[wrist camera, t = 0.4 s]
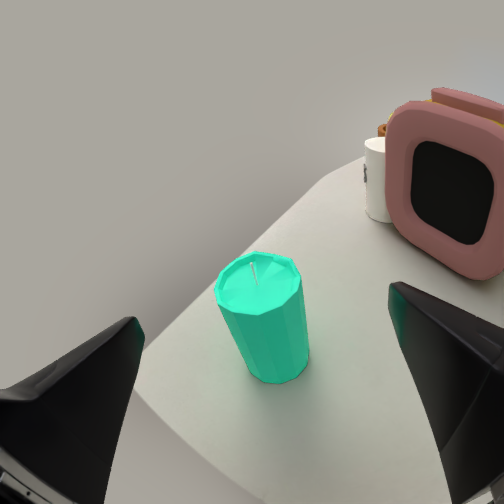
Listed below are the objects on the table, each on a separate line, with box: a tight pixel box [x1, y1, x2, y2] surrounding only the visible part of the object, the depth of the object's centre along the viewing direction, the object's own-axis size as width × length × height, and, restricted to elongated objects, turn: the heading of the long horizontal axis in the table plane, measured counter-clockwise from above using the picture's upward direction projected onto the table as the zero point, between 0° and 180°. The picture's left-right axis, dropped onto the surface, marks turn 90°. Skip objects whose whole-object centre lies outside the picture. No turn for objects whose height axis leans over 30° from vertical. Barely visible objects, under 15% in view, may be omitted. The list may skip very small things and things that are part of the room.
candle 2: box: [364, 113, 393, 223], centre depth 34 cm, size 6×6×15 cm
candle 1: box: [214, 251, 309, 384], centre depth 22 cm, size 6×6×12 cm
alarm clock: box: [384, 88, 504, 280], centre depth 25 cm, size 18×11×19 cm, turn 30°
